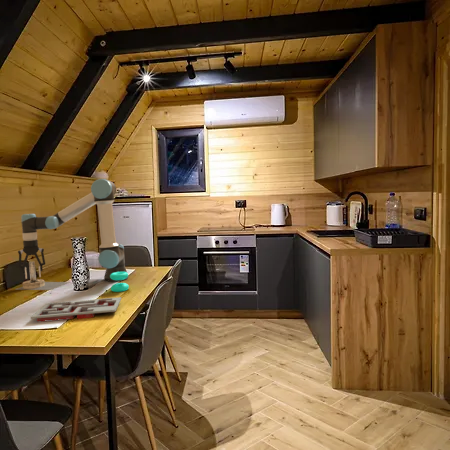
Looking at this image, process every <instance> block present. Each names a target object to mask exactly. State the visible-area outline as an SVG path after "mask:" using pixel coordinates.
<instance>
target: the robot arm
mask: <svg viewBox="0 0 450 450" xmlns="http://www.w3.org/2000/svg"><path fill="white" fill-rule="evenodd" d="M116 191H117V187H116V184H115V183H114V182H113V181H112V180H109V179H107V178H99V179H96V180H94V181H93V182H92V184H91V186H90V193H88V194H87V195H85V196H83V197H81V198H80V199H78V200H76V201H74V202H73V203H71V204H70V205H68V206H67V207H64V208H62V209H61V210H60V211H58V212H57V213H55V214H53V215H49V216H36V214H35V213H24V214H21V218H20V219H21V220H20V222H21V230H22V240H23V241H22V243H23V246H22V247H23V248H22V249H21V250H18V251H17V253H18V268H21V269H22V274H24V275H25V280H26V279H28V273H27V267H26V264H27V261H28V258H29V256H35V258H36V261H37V263H38V264H39V265H38V274H39V276H38V277H39V278H41V277H42V275H41V272H43V270H44V269H43V266H44V265H45V266H46V259H45V253H44V252H45V251H44V250H45V249H44V248H40V247H39V243H38V242H39V241H38V230H53V229H54V230H55V229H57V228H59V227H61V226H63V224H65V223H66V222H68V221H70V220H71V219H73V218H75V217H76V216H79V215H81V214H82V213H83V212H85V211H86V210H88V209H90V208H91V207H93V206H95V205H96V206H97V215H98V224H99V232H100V233H99V235H100V243H101V244H100V245H99V246H98V247H99V250H98V251H99V255H98V259H97V261H98V263H99V265H100V266H101V267H103V268H104V269H105V272H104V277H103V280H104V282H109V283H110V282H121V281H125V280H128V279H129V276H128V277H127V278H126V279H123V280H112V279H111V278H110V275H111V274H112V273H115V272H127V273H128V271H127V268H126V265H125V263H126V261H125V247H124V245H123V244H120V243H118V242H117V238H116V229H115V219H114V209H113V203H114V202H115V194H116ZM38 251H39V252H40V254H41V259H40V257H39V255H38ZM23 253H24V254H25V258H24V260H23V264H22V258H23V257H22V254H23ZM41 260H42V262H41Z"/></svg>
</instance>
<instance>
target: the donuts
mask: <svg viewBox="0 0 450 450" xmlns="http://www.w3.org/2000/svg"><path fill="white" fill-rule="evenodd" d="M127 277H128V278H129V273H128V271H127V272H115V273H112V274H111V275H110V278H111V279H112V280H122V281H124V280H123V279H126V278H127ZM126 280H127V279H126ZM129 288H130V286H129V284H128V283H126V282H118V283H114V284H112V285H111V287H110V291H112V292H114V293H120V292H121V293H122V292H125V291H127V290H129Z"/></svg>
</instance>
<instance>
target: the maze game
mask: <svg viewBox="0 0 450 450" xmlns="http://www.w3.org/2000/svg"><path fill="white" fill-rule="evenodd" d="M121 300H122V297H120V296H119V297H106V298H97V299H84V300H72V301H71V300H70V301H58V302H46V303H45V304H44V305H43V306H42V307H40V308H39V309H38V310H37V311H36V312H35V313H33V314H32V315H31V316H30V320H32V319H33V320H34V319H36V322H37V321H41V322H46V321H45V320H52V321H59V320H58V319H63V320H73V319H74V318H75V317H76V319H77V320H79V319H90V318H94V317H95V316H96V315H95V314H102V313H114V312H116V311H117V309H118V307H119V305H120V303H121Z"/></svg>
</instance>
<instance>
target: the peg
mask: <svg viewBox="0 0 450 450" xmlns="http://www.w3.org/2000/svg"><path fill="white" fill-rule="evenodd" d="M35 263H36V262H35V261H29V262H28V266H29V267H28V268H29V279H30V280H29V281H30V282H31V283H33V282H36V280H37V275H36V274H37V273H36V264H35Z"/></svg>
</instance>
